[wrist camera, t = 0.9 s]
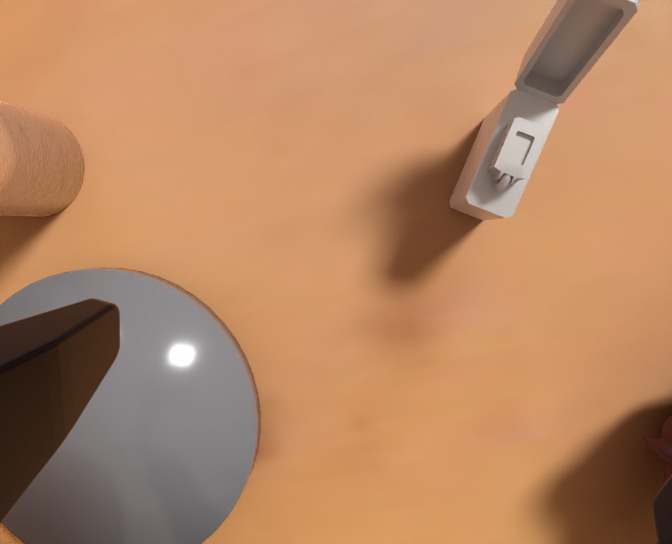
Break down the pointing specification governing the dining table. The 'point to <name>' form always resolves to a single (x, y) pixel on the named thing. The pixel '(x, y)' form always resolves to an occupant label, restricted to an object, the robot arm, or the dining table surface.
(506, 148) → the lighter
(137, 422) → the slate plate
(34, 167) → the pepper mill
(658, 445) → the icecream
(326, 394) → the dining table surface
